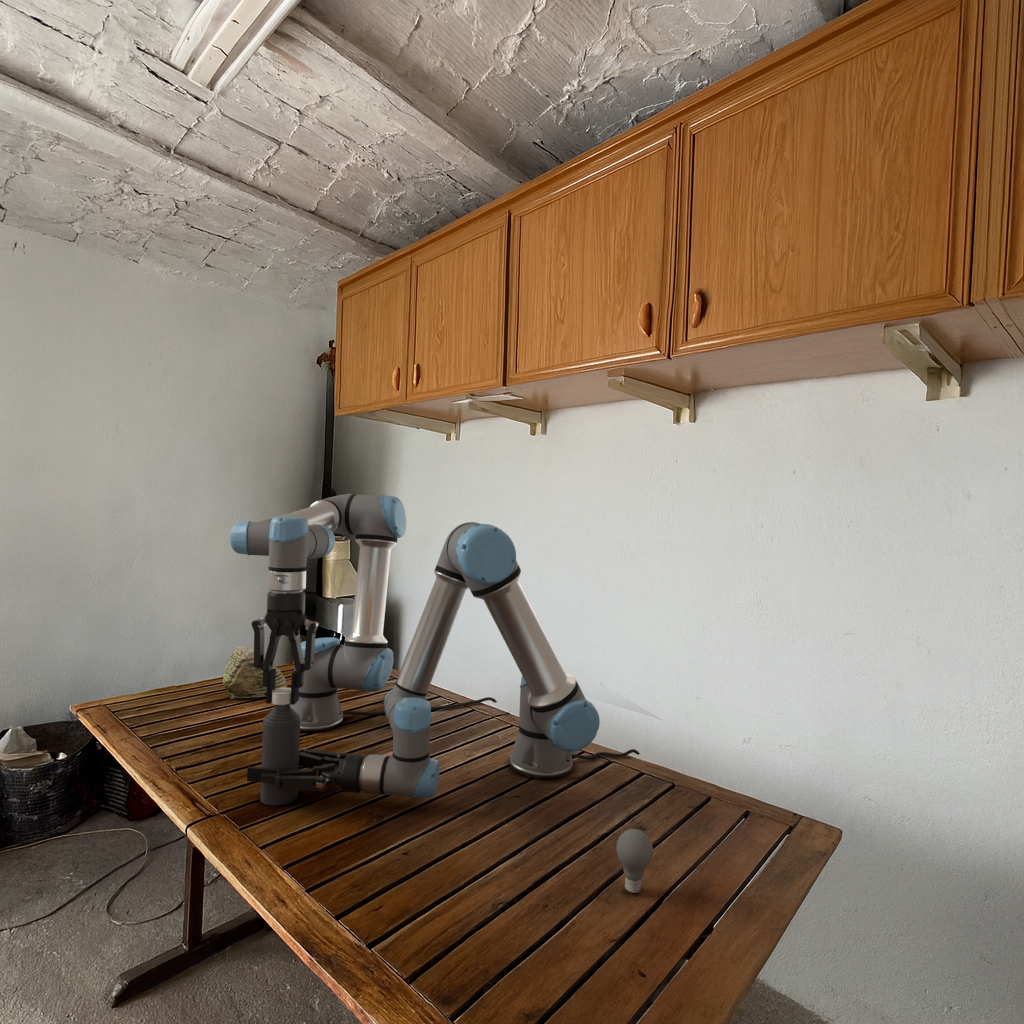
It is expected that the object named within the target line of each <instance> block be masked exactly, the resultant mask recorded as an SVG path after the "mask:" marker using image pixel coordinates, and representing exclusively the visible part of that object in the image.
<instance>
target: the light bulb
mask: <svg viewBox="0 0 1024 1024" xmlns="http://www.w3.org/2000/svg"><path fill="white" fill-rule="evenodd" d="M615 849H616V854H617V857H618V859H619V861H620V863H621V865H622V867H623V873H624V874H623V875H624V876H625V878H624V888H625V890H627V891H628V892H630V893H634V894H635V893H639V892H640V891H641V889H642V887H641V886H642V879H643V877H644V875H645V871H646V868H647V867H648V866H649V864H650V863H651V861H652V859H653V855H654V847H653V843H652V841H651V838H649V836H648V835H647V834H646V833H645V832H643V831H642V830H641V829H636V828H629V829H627V830H625V831H623V832H622V833H621V834H620V835H619V837H618V839H617V841H616V847H615Z"/></svg>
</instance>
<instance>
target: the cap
mask: <svg viewBox="0 0 1024 1024" xmlns="http://www.w3.org/2000/svg"><path fill="white" fill-rule="evenodd" d="M271 704H273V705H274V706H275V705H286V704H291V687H286V688H277V689H274V690H273V691H272V702H271Z"/></svg>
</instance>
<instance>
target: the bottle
mask: <svg viewBox="0 0 1024 1024" xmlns="http://www.w3.org/2000/svg"><path fill="white" fill-rule="evenodd" d="M290 704H291V703H290ZM290 704H286V705H275V704H274V707H273V708H272V710H270V711H269V713H267V715H265V716H264V719H263V720H262V741H261V743H262V744H261V766H260V767H262V768H276V769H278V768H281V771H291V770H300V768H299V752H300V741H301V731H300V717H299V714H297V712H295V711H294V710H293V709H292V708H291V707H290ZM298 793H299V790H276V783H264V782H260V794H259V795H260V796H259V797H260V798H259V801H260V802H261V803H262V804H264V805H267V806H283V805H287V804H289V803H292V802H293V801H295V800H296V799H297V798H298V795H299V794H298Z"/></svg>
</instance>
